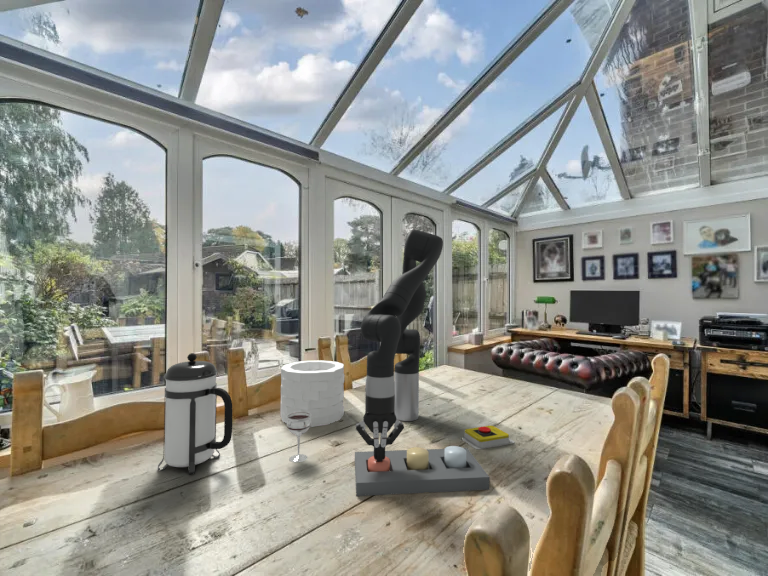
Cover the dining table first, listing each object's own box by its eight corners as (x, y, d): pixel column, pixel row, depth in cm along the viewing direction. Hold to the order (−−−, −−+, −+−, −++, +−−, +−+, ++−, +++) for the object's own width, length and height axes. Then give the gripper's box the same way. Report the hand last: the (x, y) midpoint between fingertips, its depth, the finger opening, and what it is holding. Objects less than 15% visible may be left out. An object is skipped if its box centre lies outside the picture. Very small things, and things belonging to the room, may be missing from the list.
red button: (368, 482, 87) (368, 466, 87) (367, 470, 93) (367, 455, 93) (391, 481, 88) (391, 465, 88) (388, 470, 93) (388, 454, 93)
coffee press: (153, 485, 85) (156, 360, 86) (160, 457, 99) (162, 350, 100) (231, 469, 93) (233, 355, 94) (227, 445, 107) (229, 347, 108)
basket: (276, 409, 141) (277, 362, 141) (334, 402, 151) (335, 358, 151) (285, 432, 118) (285, 376, 118) (352, 422, 128) (353, 370, 128)
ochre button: (408, 473, 88) (408, 457, 88) (405, 462, 94) (405, 447, 94) (430, 472, 89) (430, 456, 89) (425, 461, 94) (425, 446, 94)
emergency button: (459, 426, 115) (496, 420, 121) (459, 439, 115) (496, 433, 121) (476, 437, 107) (516, 430, 112) (476, 451, 106) (516, 444, 112)
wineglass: (315, 455, 102) (315, 413, 102) (302, 465, 96) (302, 421, 96) (294, 451, 104) (295, 410, 104) (281, 461, 98) (281, 418, 98)
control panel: (356, 496, 82) (356, 483, 82) (354, 462, 97) (354, 451, 98) (489, 489, 85) (489, 477, 85) (466, 458, 101) (467, 447, 101)
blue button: (447, 471, 89) (448, 455, 89) (441, 461, 95) (442, 446, 95) (469, 470, 90) (469, 455, 90) (462, 460, 95) (462, 445, 95)
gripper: (354, 397, 86) (353, 468, 86) (408, 396, 87) (407, 466, 87) (353, 389, 93) (353, 454, 93) (403, 388, 95) (402, 453, 95)
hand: (379, 460), depth 90 cm, fingers closed
